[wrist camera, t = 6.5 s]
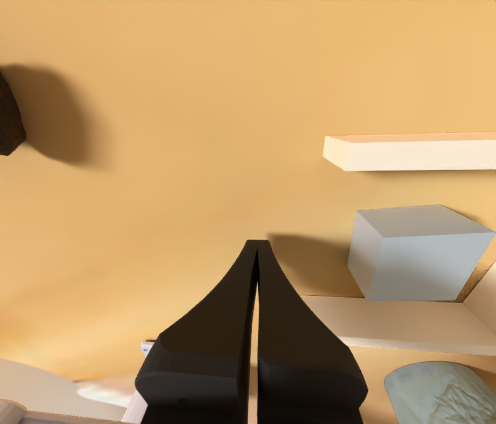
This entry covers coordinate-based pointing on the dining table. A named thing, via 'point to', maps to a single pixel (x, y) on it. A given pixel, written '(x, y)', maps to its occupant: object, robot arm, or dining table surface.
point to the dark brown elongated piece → (9, 121)
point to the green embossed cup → (440, 394)
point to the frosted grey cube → (415, 252)
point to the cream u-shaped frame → (414, 312)
